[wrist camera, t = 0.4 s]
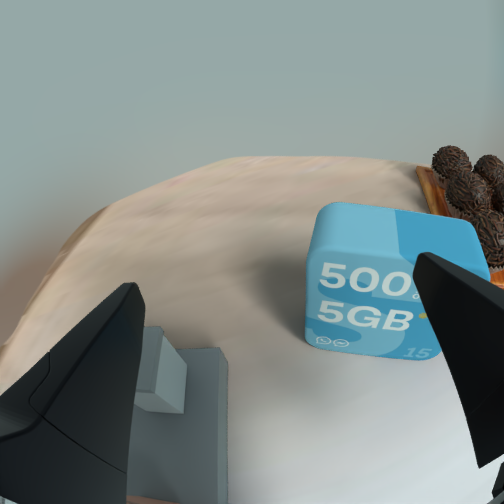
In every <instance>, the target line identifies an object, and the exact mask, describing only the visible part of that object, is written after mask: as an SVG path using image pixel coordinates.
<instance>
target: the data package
mask: <svg viewBox="0 0 504 504" xmlns="http://www.w3.org/2000/svg"><path fill="white" fill-rule="evenodd" d="M422 252H431V253H433V254H435V255H438V256H440V257H442V258H444V259H446V260H448V261H450V262H452V263H454V264H456V265H458V266H460V267H462V268H464V269H466V270H468V271H470V272H472V273H474V274H476V275H478V276H479V277H481V278H483V279H485V280H487V281H489V282H490V272H489V269H488V266H487V262H486V259H485V256H484V253H483V250H482V247H481V245H480V242H479V239H478V236H477V234H476V231H475V229H474V227H473V226H472V224H470V223H469V222H468V221H465V220H462V219H456V218H450V217H445V216H439V215H433V214H426V213H420V212H413V211H406V210H399V209H392V208H385V207H377V206H369V205H361V204H352V203H343V202H335V203H331V204H328V205H326V206H325V207H323V208H322V209H321V210H320V211H319V213H318V215H317V218H316V222H315V226H314V231H313V235H312V239H311V243H310V247H309V251H308V255H307V259H306V310H305V339H306V341H307V342H308V343H309V344H310V345H312V346H314V347H316V348H320V349H325V350H331V351H338V352H345V353H352V354H360V355H368V356H377V357H386V358H396V359H408V360H427V359H430V358H433V357H435V356H436V355H438V354H439V353H440V352H441V350H442V349H441V347H440V345H439V342H438V340H437V338H436V335H435V333H434V331H433V329H432V326H431V324H430V322H429V320H428V318H427V315H426V313H425V310H424V307H423V304H422V302H421V299H420V296H419V294H418V291H417V289H416V286H415V284H414V281H413V277H412V274H413V270H414V266H415V263H416V259H417V256H418V254H419V253H422Z"/></svg>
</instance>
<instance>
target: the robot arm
mask: <svg viewBox="0 0 504 504" xmlns="http://www.w3.org/2000/svg"><path fill="white" fill-rule="evenodd" d="M412 277H413V281H414V284H415V286H416V289H417V291H418V294H419V296H420V299H421V302H422V304H423V307H424V310H425V313H426V315H427V318H428V320H429V322H430V324H431V326H432V329H433V331H434V333H435V335H436V338H437V340H438V342H439V345H440V347H441V349H442V352H443V354H444V357H445V359H446V362H447V364H448V367H449V370H450V372H451V375H452V378H453V380H454V383H455V386H456V389H457V392H458V395H459V398H460V401H461V404H462V407H463V410H464V413H465V417H466V421H467V424H468V428H469V431H470V435H471V439H472V443H473V447H474V451H475V456H476V460H477V465H478V468H479V469H480V468H481V467H483V466H485V465H487V464H488V463H490V462H492V461H493V460H495V459H496V458H498V457H500V456H501V455H503V454H504V289H502V288H500V287H498V286H496V285H494V284H493V283H491V282H489V281H487V280H485V279H483V278H481V277H479V276H478V275H476V274H474V273H472V272H470V271H468V270H466V269H464V268H462V267H460V266H458V265H456V264H454V263H452V262H450V261H448V260H446V259H444V258H442V257H440V256H438V255H435V254H433V253H431V252H422V253H419V254H418V256H417V259H416V263H415V266H414V270H413V274H412ZM144 319H145V303H144V300H143V297H142V295H141V292H140V290H139V287H138V285H137V284H136V283H135V282H130V283H123V284H122V285H121V286H119V287H118V288H117V289H116V290H115V291H114V292H113V293H111V294H110V295H109V296H108V297H107V298H106V299H105V300H103V301H102V302H101V303H100V304H99V305H98V306H97V307H96V308H94V309H93V310H92V311H91V312H90V313H89V314H88V315H87V316H86V317H84V318H83V319H82V320H81V321H80V322H79V323H78V324H77V325H76V326H75V327H74V328H72V329H71V330H70V331H69V332H68V333H67V334H66V335H65V336H64V337H63V338H62V339H61V340H60V341H59V342H58V343H57V344H56V345H55V346H53V347H52V348H51V349H50V352H47V353H46V354H45V355H44V356H43V357H42V358H41V359H40V360H39V361H38V362H37V363H36V364H35V365H34V366H33V367H32V368H31V369H30V370H29V371H28V372H26V373H25V374H24V375H23V376H22V377H21V378H20V379H19V380H18V381H16V382H15V383H14V384H13V385H12V386H11V387H10V388H8V389H7V390H6V391H5V392H4V393H3V394H2V395H1V396H0V504H126V498H127V471H128V456H129V444H130V434H131V425H132V416H133V408H134V400H135V393H136V386H137V380H138V373H139V367H140V361H141V355H142V346H143V331H144ZM492 495H493V498H494V499H493V500H491V501H490V502H489V503H487V504H504V462H503V463H501V466H500V469H499V473H498V476H497V479H496V481H495V484H494V487H493V490H492Z"/></svg>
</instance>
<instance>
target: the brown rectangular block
mask: <svg viewBox="0 0 504 504" xmlns="http://www.w3.org/2000/svg"><path fill="white" fill-rule="evenodd" d="M126 504H180V503H174V502H168V501H162V500H157V499H152V498H147V497H142V496H127V498H126Z"/></svg>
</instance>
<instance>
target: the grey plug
mask: <svg viewBox="0 0 504 504" xmlns="http://www.w3.org/2000/svg"><path fill="white" fill-rule="evenodd" d="M163 334H164V331H163V330H162V328H161V327H160V326H159V327H144V331H143V346H142V355H141V361H140V367H139V373H138V380H137V386H136V393H135V400H134V404H135V405H137V406H139V407H140V408H142V409H144V410H145V411H150V412H162V413H178V414H184V400H185V387H186V375H187V364H186V363H185V362H184V360H183V359H182V358H181V357H180V355H179V354H178V353H177V352H176V350H175V349H174V348H173V346H172V345H171V344H170V342H169V341H168V340H167V339H166V337H165V336H164V335H163Z"/></svg>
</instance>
